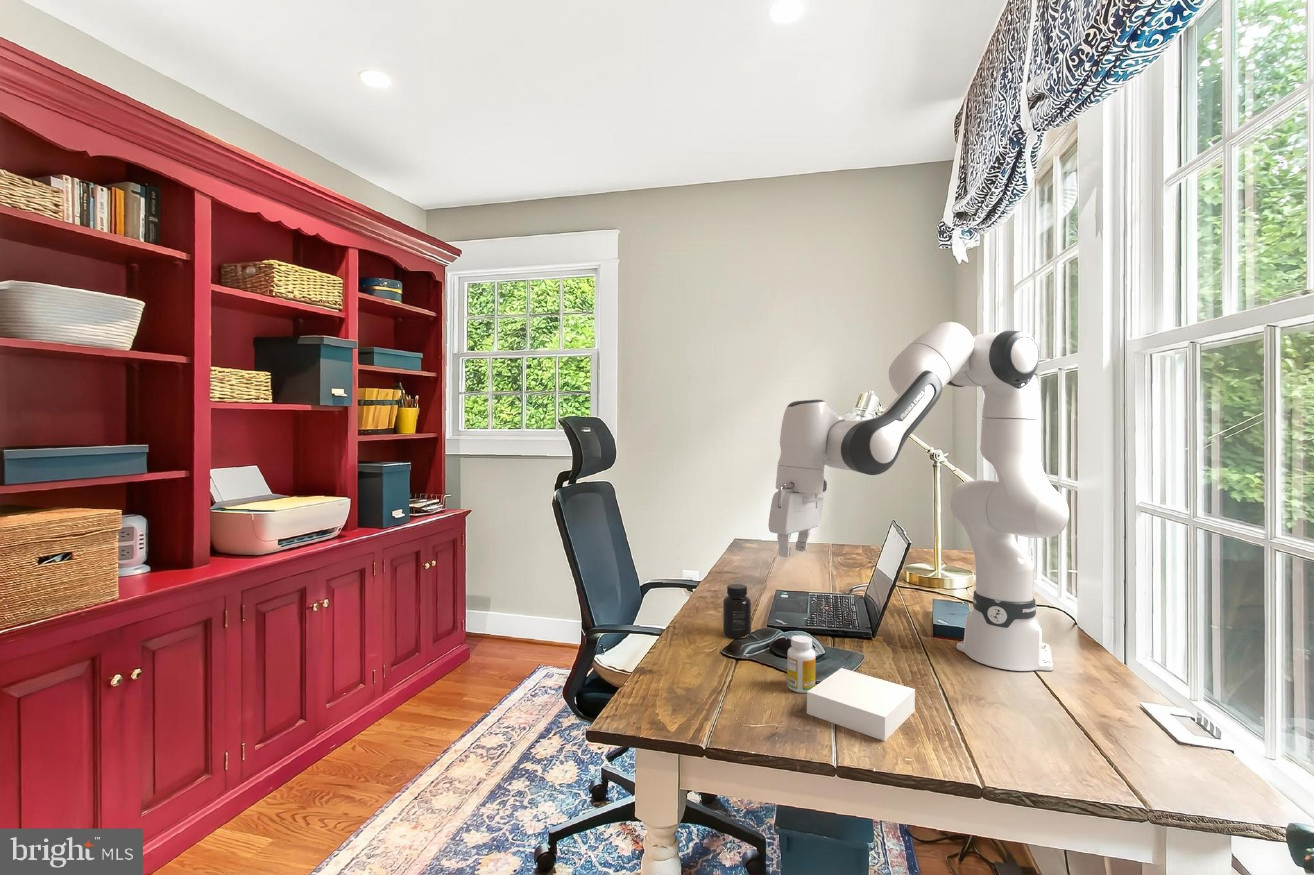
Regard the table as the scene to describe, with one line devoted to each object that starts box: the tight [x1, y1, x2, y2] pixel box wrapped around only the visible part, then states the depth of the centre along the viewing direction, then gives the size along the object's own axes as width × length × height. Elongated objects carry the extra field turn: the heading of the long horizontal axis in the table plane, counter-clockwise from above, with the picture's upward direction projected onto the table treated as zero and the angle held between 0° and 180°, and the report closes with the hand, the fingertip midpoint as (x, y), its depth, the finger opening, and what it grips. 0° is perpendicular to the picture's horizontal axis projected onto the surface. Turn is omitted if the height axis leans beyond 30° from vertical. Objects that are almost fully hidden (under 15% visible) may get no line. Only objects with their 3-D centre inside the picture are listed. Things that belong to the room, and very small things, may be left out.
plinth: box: [806, 667, 916, 742], centre depth 109 cm, size 14×14×4 cm
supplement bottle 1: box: [722, 583, 752, 640], centre depth 149 cm, size 7×7×12 cm
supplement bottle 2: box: [786, 635, 817, 694], centre depth 119 cm, size 5×5×10 cm
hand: (792, 553), depth 118 cm, fingers open, 8 cm apart
